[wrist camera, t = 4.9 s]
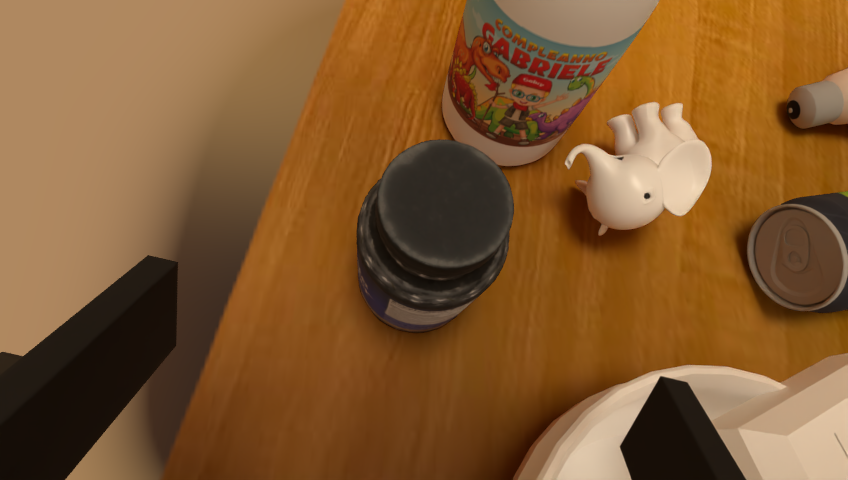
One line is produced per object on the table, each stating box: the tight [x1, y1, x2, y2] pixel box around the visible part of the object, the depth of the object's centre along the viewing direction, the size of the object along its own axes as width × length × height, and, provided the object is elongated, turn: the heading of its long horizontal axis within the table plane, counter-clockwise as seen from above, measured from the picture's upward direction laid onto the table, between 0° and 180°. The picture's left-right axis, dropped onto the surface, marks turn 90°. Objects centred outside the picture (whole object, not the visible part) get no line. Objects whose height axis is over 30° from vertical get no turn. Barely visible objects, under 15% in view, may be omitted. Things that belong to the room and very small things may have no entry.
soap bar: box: [711, 353, 848, 480], centre depth 18 cm, size 5×9×3 cm, turn 109°
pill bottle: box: [357, 140, 514, 332], centre depth 22 cm, size 6×6×11 cm
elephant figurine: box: [565, 102, 712, 235], centre depth 27 cm, size 7×12×6 cm
